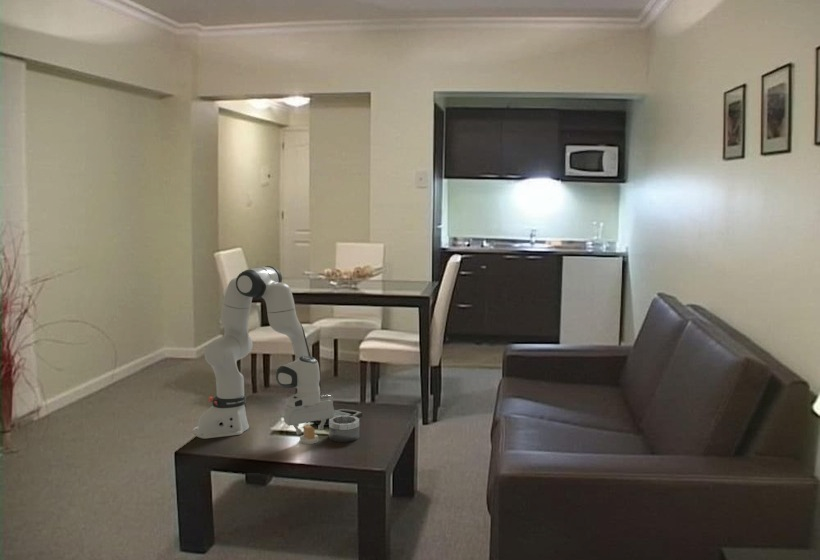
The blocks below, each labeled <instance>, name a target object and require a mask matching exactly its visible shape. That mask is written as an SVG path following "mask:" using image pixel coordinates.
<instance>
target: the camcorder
mask: <svg viewBox="0 0 820 560" xmlns="http://www.w3.org/2000/svg"><path fill="white" fill-rule="evenodd" d="M341 415H349V416H355V417H357V418H359V419H361V418H363V412H361V411H358V410H353V409H346V408H342V409H341V408H340V409H337V410H336V409H334V416H333V417H336V416H341ZM329 419H330V418H327V419H326V422H325V425H324V426H327V425H329ZM308 423H310V424H316V425H320V423H321V420H316V421H311V422H306V424H308Z"/></svg>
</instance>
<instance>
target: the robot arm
mask: <svg viewBox="0 0 820 560" xmlns="http://www.w3.org/2000/svg"><path fill="white" fill-rule="evenodd" d="M292 292H293V291H292V290H291V286H289V284H288V283H284V282H283V276H282V274H281V272H280V270H279V269H278V268H277V267H274V266H270V265H266V266H256V267H254V268H250V269H245V270H243V271H241V272H239V274H238V275H237V276H236V277H235V278H232V279H231V280H229V282H228V285H227V287H226V291H225V294H224V297H223V302H222V308H221V313H220V323H221V325H223V330H224V333H223V336H222V337H221V338H217V339H214V340H213V341H212V342H210V343H209V344H208V345H207V346H206V347H205V349H204V351H203V353H204V354H203V356H204V360H205V361H206V363H207V364H208V365H209V366H210V367H211V368H212V370H213V372H214V376H215V377H214V378H215V384H216V386H215V388H216V396H215V397H214V396H209V398H208V401H209V402H210V403H212V405H211V406H210V407H209V408H208V409H207V410H205V411H204V412H203V413H202V414H201V415H200V417H199V419H198V425H197V426H195V427H194V428H193V429H192V433H193V435H194V436H196V437H197V438H199V439H214V438H223V437H230V436H231V437H232V436H238V435H242V434H243V432H246V431H248V430H249V428H250V425H249V422H248V419H247V413H246V407H247V406H246V404H247V398H246V394H245V377H244V375H243V374H242V372H240V371H239V368H238V364H237V362H238V361H240V360H242V359H244V358H246V356H248V355H249V354H250V353H251V352H252V350H253V346H254V345H253V340H252V338H251V337H250V334H249V319H250V314H251V307H252V301H253V298H254V299H257V300H259V299H263V300H264V302H265V305H266V312H267V320H268V323H269V326H270V328H271V329H272V330H273V331H275V332H276V333H278V334H281V335H285V336H287V337H288V338H289V340H290V342H291V345H292V349H293V353H294V361H292V362H288V363H286V364H283V365H281V366H279V367H277V369H276V372H275V380H276V382H277V384H278V385H279V386H280V387H281V388H282V389H294V388H295V389H297V392H296V393H295V394H293V395H291V396H289V397H288V398H286V399H285V403H286V406H285V407H284V411H283V412H284V413H283V414H284V415H283V421H284V424H286V425H288V426H289V427H290V426H293V428H294V429H295V433H296V435H297V436H298V435H302V429H300V428H299V426H300V424H304V423H306V422H308V423H310V422H311V421H316V420H321V423H320V424H317V426H318V427H317V428H318V430H319V431H323V430H324V426H325V425H324V424H325V422H326V419H327V418H332V417H333V416H334V410H335V409H334V408H335V407H334V404H333V403H334V398H333V396H332V395H330V394H325V395H321V387H320V381H321V373H320V366H319V362H318V359H316V358H315V357H313V356H311V353H310V348H309V344H308V341H307V337H306V334H305V333H306V332H305V330H304V327H303V324H302V323H301V322H300V320H299V318H298V315H297V311H296V305H295V299H294V295H293V293H292ZM306 424H307V423H306Z"/></svg>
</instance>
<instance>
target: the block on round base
mask: <svg viewBox="0 0 820 560" xmlns="http://www.w3.org/2000/svg"><path fill="white" fill-rule="evenodd" d="M299 442H300V444H302V445H314V443H315V444H317V443H319V435H317V434H315V427H314V426H311V425H310V424H308V425H303V435H302V434H301V435H300V436H299Z"/></svg>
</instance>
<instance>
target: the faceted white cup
mask: <svg viewBox="0 0 820 560" xmlns="http://www.w3.org/2000/svg"><path fill="white" fill-rule="evenodd" d="M328 430H329V431H328V433H329V434H328V436H329V440H331V441H333V442H336V441H337V443H338V442H339V443H348V442H353V441H354V442H355V441H356V440H358V439H359V438H360V418H357V417H355V416H349V415H341V416H336V417H332V418H330V419H329V426H328Z"/></svg>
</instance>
